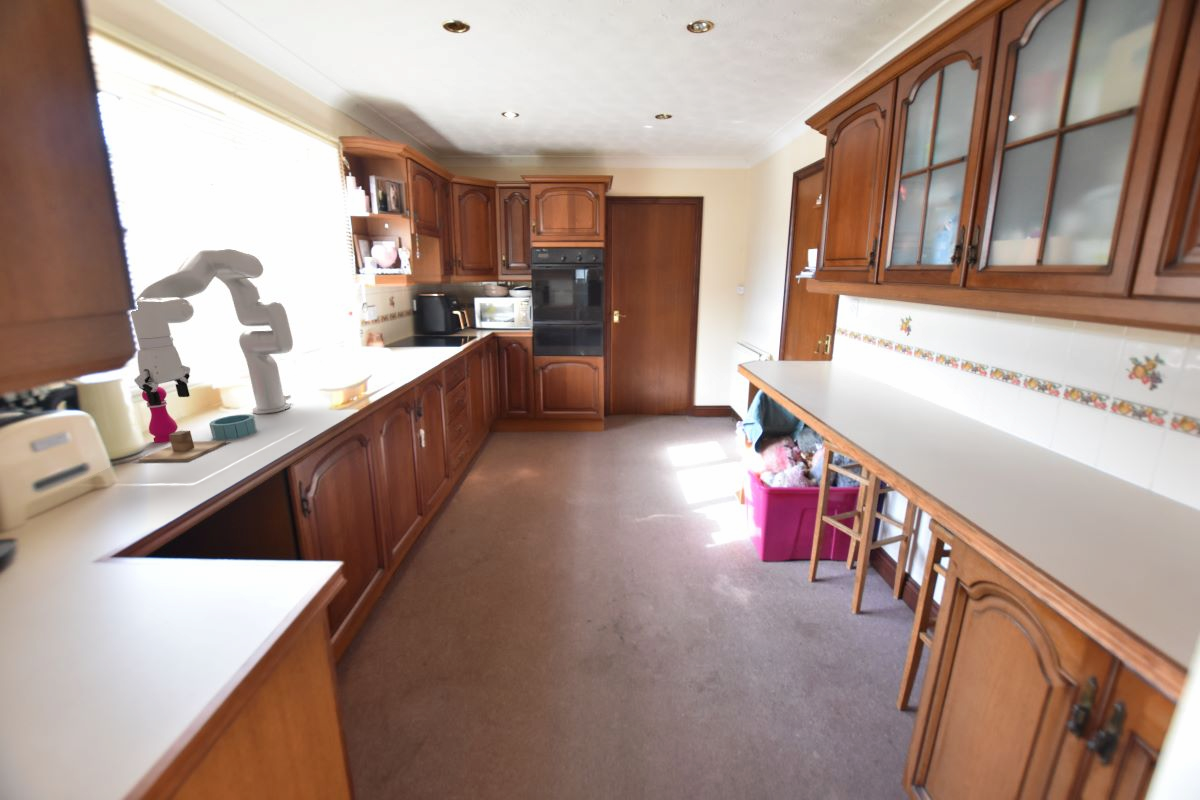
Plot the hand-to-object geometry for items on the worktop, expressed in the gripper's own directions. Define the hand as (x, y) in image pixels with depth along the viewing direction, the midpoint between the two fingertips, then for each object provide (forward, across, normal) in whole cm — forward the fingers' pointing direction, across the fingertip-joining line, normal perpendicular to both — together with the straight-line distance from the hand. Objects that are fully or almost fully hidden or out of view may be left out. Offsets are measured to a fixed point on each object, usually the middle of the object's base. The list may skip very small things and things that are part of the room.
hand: (170, 400), depth 153 cm
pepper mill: (+17, -12, -17) cm, 27 cm away
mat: (+17, 0, 0) cm, 17 cm away
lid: (+16, 0, 0) cm, 16 cm away
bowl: (+17, -18, +3) cm, 24 cm away
